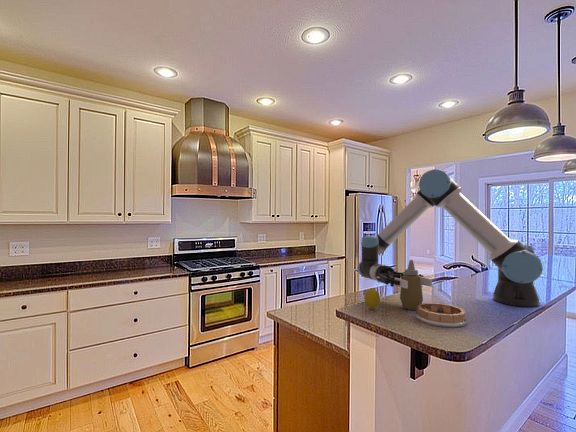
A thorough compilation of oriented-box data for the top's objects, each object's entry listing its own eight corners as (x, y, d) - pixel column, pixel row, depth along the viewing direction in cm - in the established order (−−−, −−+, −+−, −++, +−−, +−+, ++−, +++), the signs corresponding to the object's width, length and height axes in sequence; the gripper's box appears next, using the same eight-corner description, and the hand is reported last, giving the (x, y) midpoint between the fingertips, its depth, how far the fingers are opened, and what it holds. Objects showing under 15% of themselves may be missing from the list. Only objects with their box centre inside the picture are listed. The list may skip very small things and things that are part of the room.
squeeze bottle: (401, 310, 112) (401, 261, 113) (398, 304, 120) (398, 258, 121) (425, 312, 111) (424, 262, 111) (420, 306, 118) (420, 259, 119)
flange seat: (440, 311, 112) (440, 301, 112) (477, 324, 97) (477, 313, 97) (406, 315, 107) (406, 304, 107) (439, 329, 93) (439, 317, 93)
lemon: (369, 312, 110) (369, 290, 110) (361, 308, 116) (361, 286, 116) (383, 311, 112) (382, 289, 112) (374, 307, 117) (374, 285, 117)
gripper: (404, 280, 136) (444, 292, 115) (359, 284, 129) (392, 296, 108) (404, 263, 136) (444, 271, 115) (359, 266, 129) (392, 275, 108)
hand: (419, 283), depth 112 cm, fingers open, 10 cm apart
